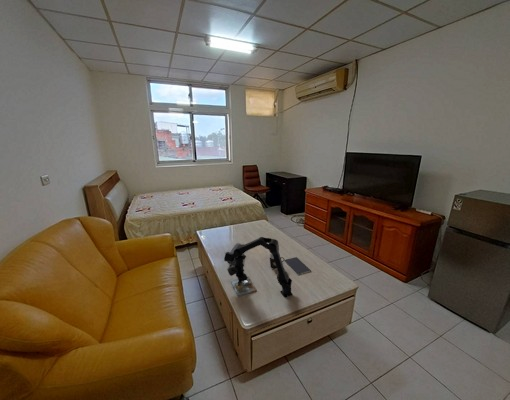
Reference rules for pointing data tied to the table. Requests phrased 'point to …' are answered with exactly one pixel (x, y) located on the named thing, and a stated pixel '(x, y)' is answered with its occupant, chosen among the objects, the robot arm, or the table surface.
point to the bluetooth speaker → (232, 252)
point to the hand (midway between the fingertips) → (239, 281)
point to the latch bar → (245, 282)
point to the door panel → (243, 288)
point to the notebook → (297, 266)
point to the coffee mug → (273, 262)
